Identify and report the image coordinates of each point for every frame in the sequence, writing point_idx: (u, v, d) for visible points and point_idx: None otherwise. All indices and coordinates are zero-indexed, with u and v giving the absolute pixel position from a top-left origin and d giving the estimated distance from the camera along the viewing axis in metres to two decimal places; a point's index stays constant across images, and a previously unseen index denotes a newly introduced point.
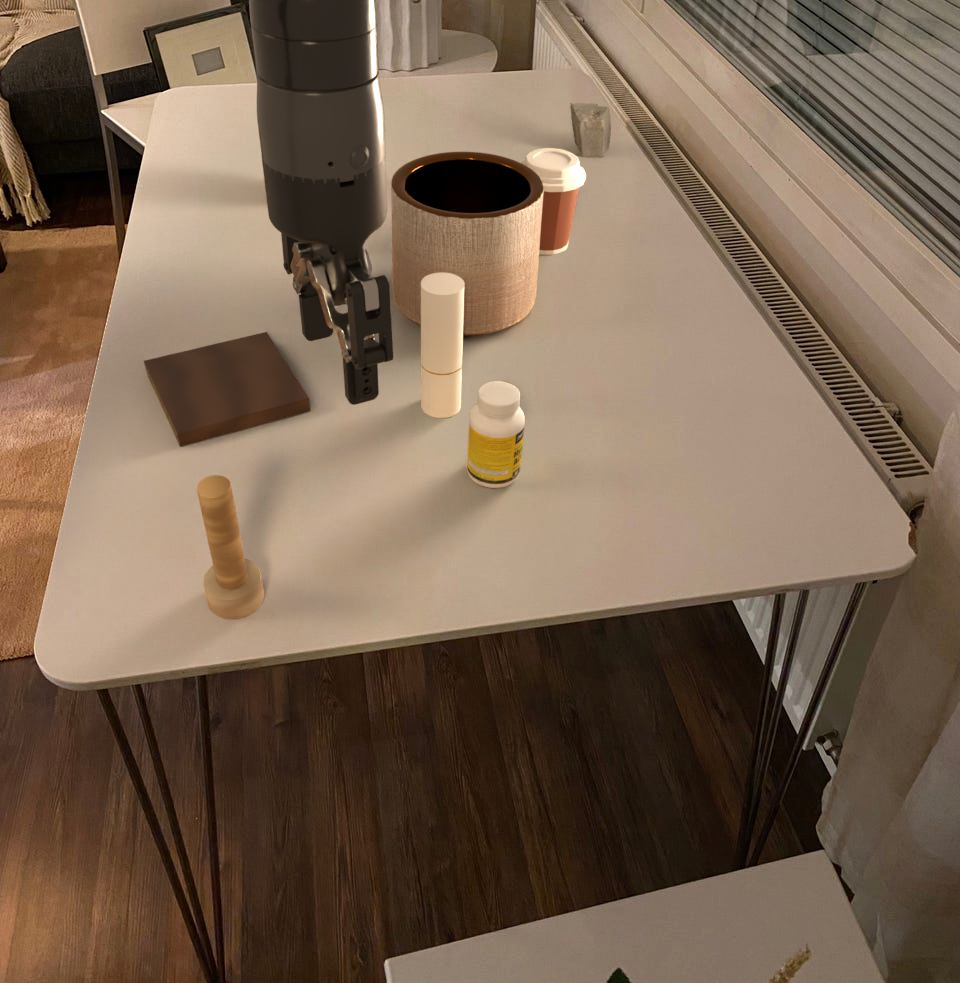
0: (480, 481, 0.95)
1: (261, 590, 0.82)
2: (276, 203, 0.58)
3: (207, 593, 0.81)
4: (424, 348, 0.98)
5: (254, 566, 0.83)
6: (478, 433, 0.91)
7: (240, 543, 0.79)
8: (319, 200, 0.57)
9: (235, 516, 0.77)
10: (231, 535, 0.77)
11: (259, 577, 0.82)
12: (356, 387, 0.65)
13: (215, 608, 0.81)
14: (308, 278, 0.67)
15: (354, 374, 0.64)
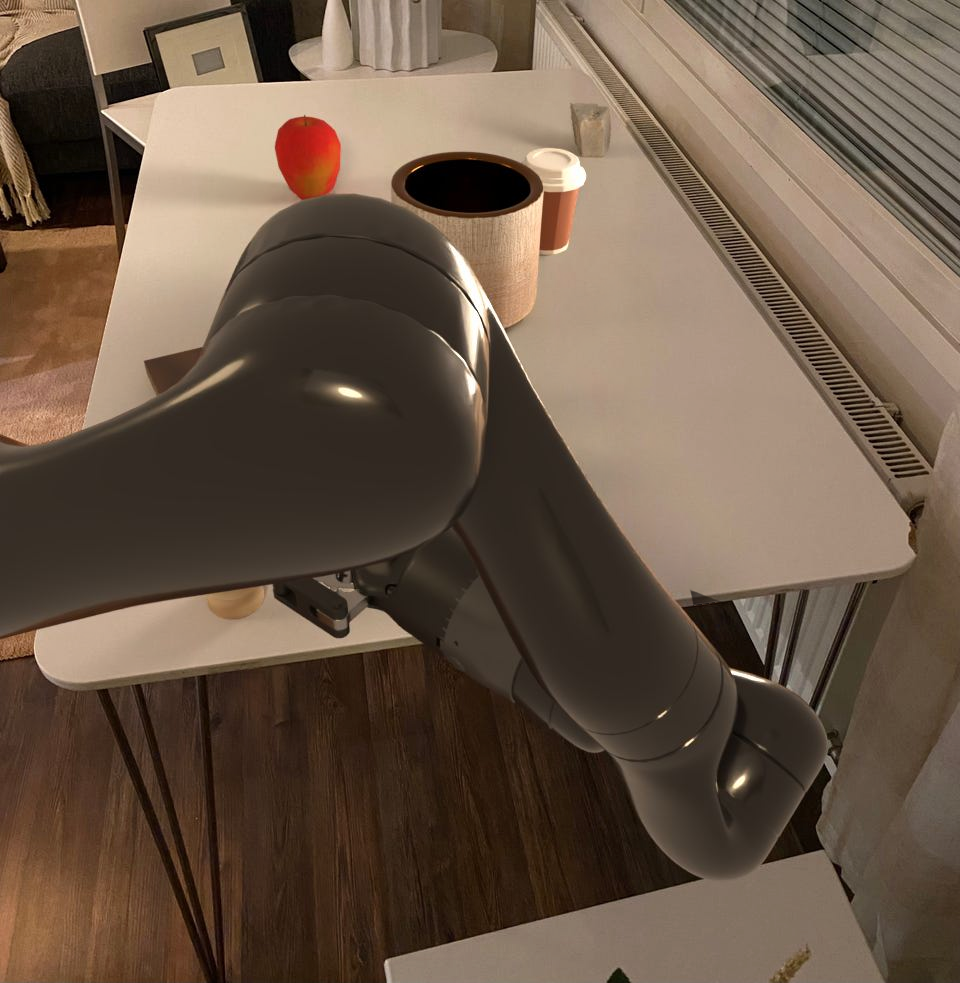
0: None
1: (261, 590, 0.82)
2: (447, 560, 0.56)
3: None
4: None
5: None
6: None
7: None
8: (430, 612, 0.56)
9: None
10: None
11: None
12: None
13: (215, 608, 0.81)
14: None
15: None
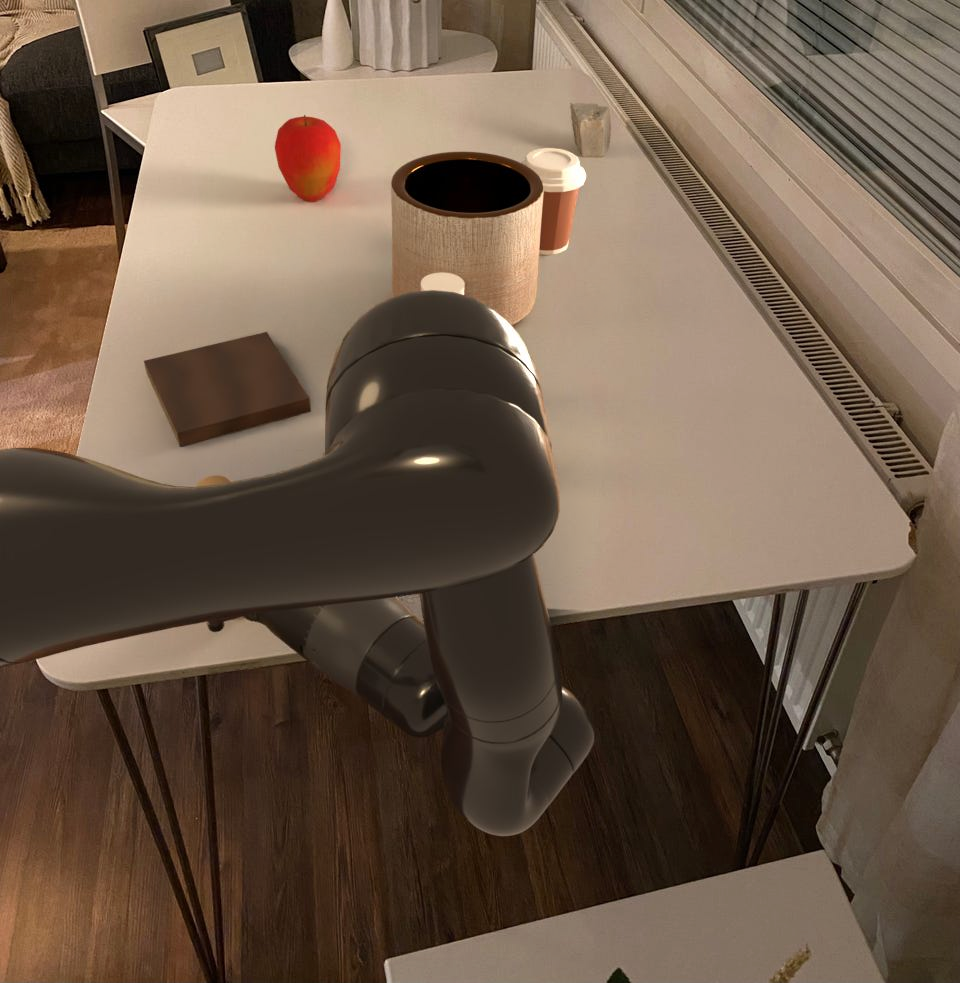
0: None
1: None
2: None
3: None
4: None
5: None
6: None
7: None
8: (295, 625, 0.69)
9: None
10: None
11: None
12: None
13: None
14: None
15: None
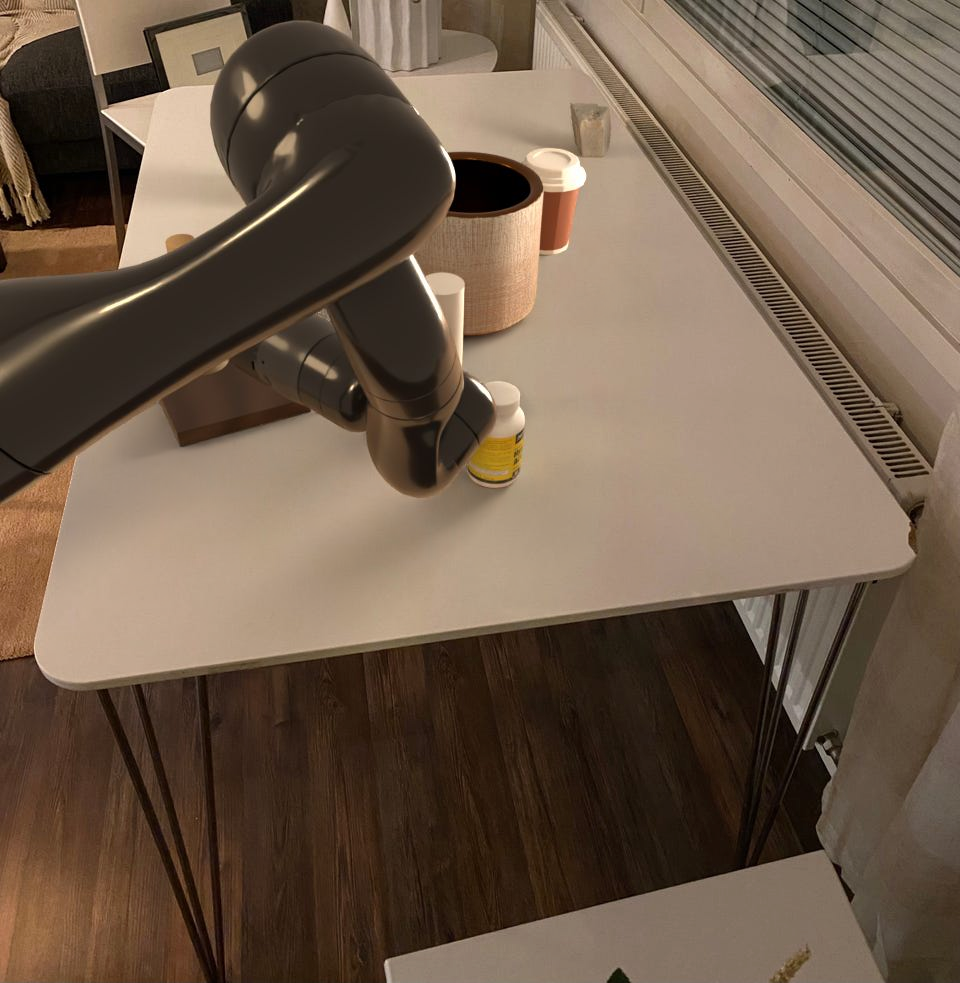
0: (480, 481, 0.95)
1: None
2: None
3: None
4: None
5: None
6: None
7: None
8: None
9: None
10: None
11: None
12: None
13: None
14: None
15: None
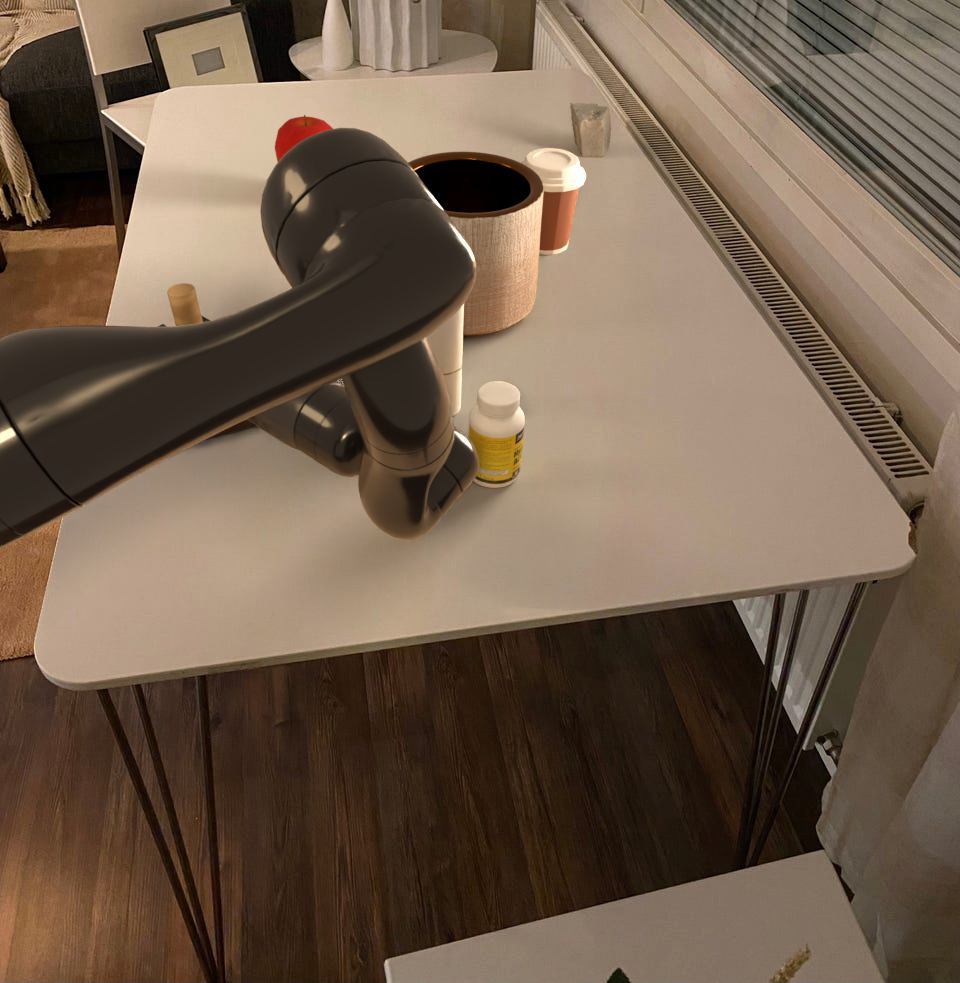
0: (480, 481, 0.95)
1: None
2: None
3: None
4: None
5: None
6: (478, 433, 0.91)
7: None
8: None
9: (200, 319, 0.94)
10: None
11: None
12: None
13: None
14: None
15: None
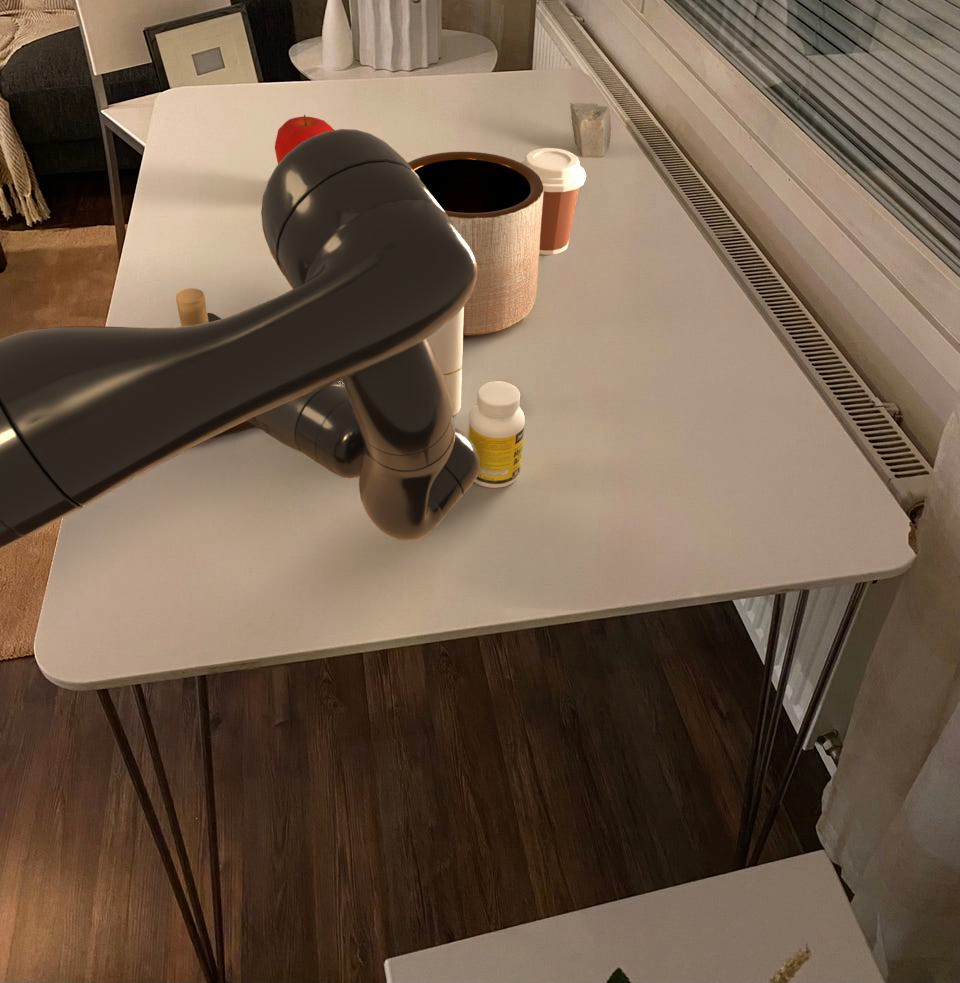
0: (480, 481, 0.95)
1: None
2: None
3: None
4: None
5: None
6: (478, 433, 0.91)
7: None
8: None
9: None
10: None
11: None
12: None
13: None
14: None
15: None
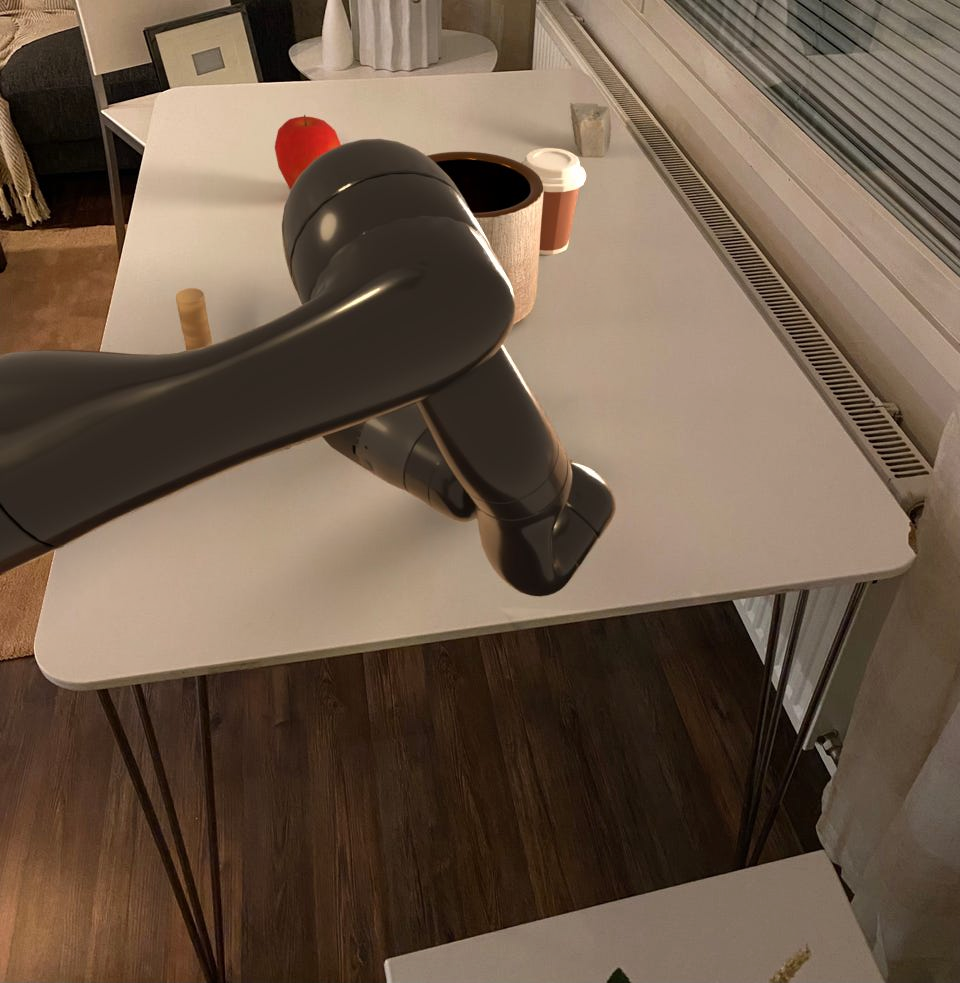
0: None
1: None
2: None
3: None
4: None
5: None
6: None
7: None
8: (348, 427, 0.78)
9: (206, 325, 0.94)
10: (202, 341, 0.94)
11: None
12: None
13: None
14: None
15: None
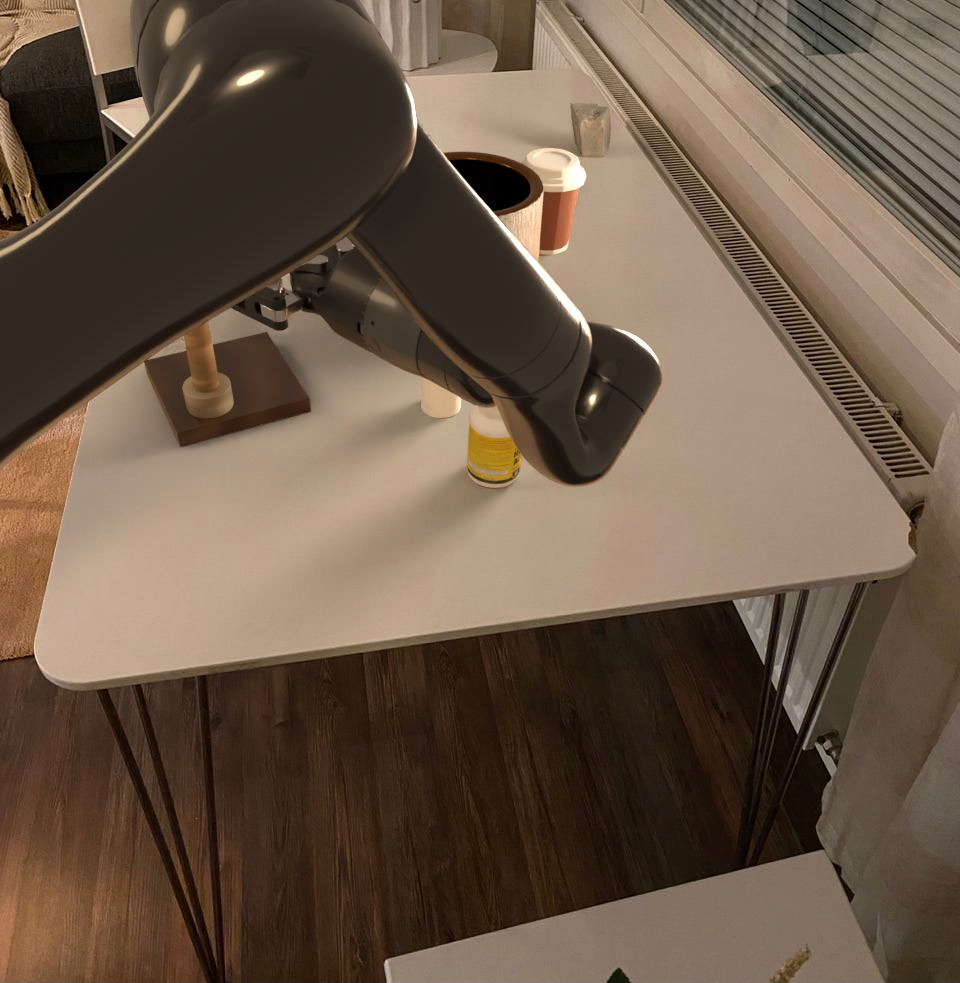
0: (480, 481, 0.95)
1: (229, 398, 0.99)
2: (366, 260, 0.68)
3: (184, 393, 0.98)
4: None
5: (226, 379, 1.00)
6: (478, 433, 0.91)
7: (211, 351, 0.96)
8: (352, 301, 0.68)
9: (206, 325, 0.94)
10: (202, 341, 0.94)
11: (228, 386, 0.99)
12: None
13: (189, 407, 0.98)
14: None
15: None
